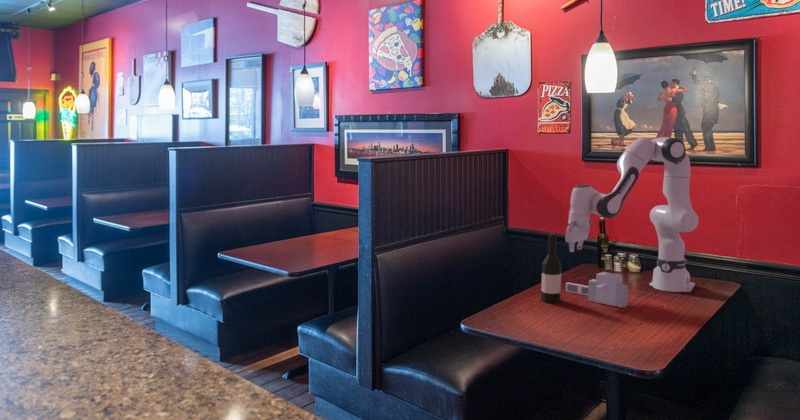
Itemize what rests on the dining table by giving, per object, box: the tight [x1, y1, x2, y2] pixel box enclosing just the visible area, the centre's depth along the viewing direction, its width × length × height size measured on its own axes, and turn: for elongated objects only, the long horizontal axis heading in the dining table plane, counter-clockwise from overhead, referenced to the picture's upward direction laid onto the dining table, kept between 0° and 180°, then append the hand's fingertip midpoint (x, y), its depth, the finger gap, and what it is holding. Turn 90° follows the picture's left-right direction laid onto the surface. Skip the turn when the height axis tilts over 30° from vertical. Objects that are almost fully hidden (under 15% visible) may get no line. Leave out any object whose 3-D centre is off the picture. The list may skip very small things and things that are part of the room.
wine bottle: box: [540, 232, 562, 304], centre depth 266 cm, size 8×8×30 cm
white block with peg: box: [587, 271, 629, 309], centre depth 261 cm, size 13×16×12 cm
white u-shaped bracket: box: [565, 281, 588, 297], centre depth 282 cm, size 10×14×4 cm
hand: (575, 250), depth 275 cm, fingers open, 8 cm apart
